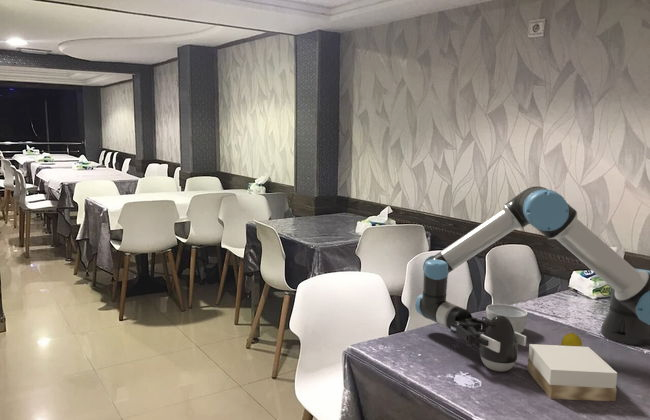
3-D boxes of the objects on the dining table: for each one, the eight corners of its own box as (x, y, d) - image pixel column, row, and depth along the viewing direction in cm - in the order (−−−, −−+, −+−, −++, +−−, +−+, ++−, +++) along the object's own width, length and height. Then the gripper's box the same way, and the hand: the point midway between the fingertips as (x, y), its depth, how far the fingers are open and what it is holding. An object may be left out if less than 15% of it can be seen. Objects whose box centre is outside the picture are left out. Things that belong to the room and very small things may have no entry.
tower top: (586, 360, 145) (588, 346, 144) (615, 388, 129) (617, 373, 129) (528, 357, 146) (529, 344, 145) (549, 384, 130) (551, 369, 129)
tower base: (584, 373, 146) (586, 360, 145) (614, 403, 130) (616, 387, 129) (527, 371, 146) (528, 358, 146) (550, 400, 130) (551, 385, 130)
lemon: (572, 363, 151) (574, 337, 150) (555, 356, 156) (558, 330, 155) (584, 360, 153) (587, 334, 152) (568, 353, 158) (571, 328, 157)
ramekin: (517, 323, 183) (518, 303, 182) (532, 337, 170) (534, 317, 169) (479, 322, 183) (481, 303, 182) (492, 336, 170) (494, 316, 169)
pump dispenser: (470, 362, 149) (474, 311, 147) (498, 357, 154) (502, 307, 151) (494, 378, 140) (499, 324, 138) (524, 372, 144) (529, 319, 142)
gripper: (479, 324, 167) (538, 350, 148) (426, 335, 156) (481, 365, 137) (481, 301, 166) (540, 325, 147) (427, 311, 155) (483, 337, 136)
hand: (512, 344), depth 142 cm, fingers closed on pump dispenser, 9 cm apart
